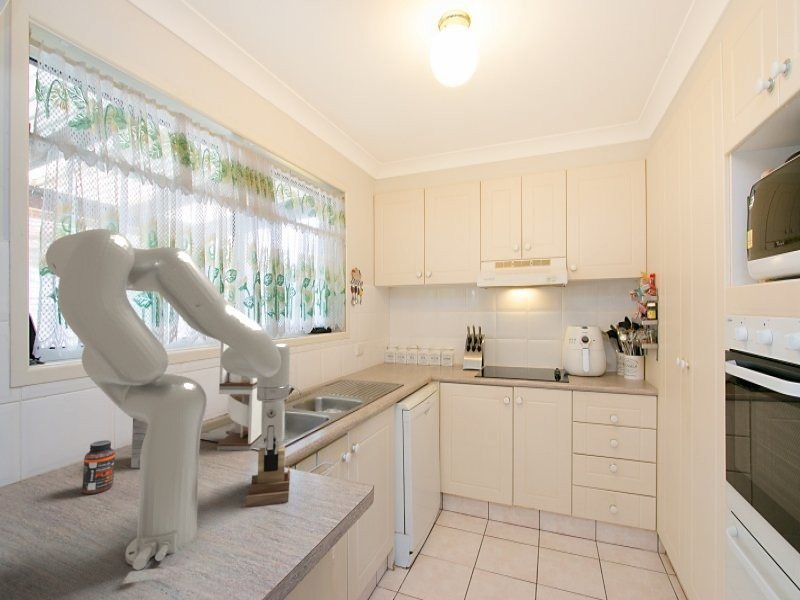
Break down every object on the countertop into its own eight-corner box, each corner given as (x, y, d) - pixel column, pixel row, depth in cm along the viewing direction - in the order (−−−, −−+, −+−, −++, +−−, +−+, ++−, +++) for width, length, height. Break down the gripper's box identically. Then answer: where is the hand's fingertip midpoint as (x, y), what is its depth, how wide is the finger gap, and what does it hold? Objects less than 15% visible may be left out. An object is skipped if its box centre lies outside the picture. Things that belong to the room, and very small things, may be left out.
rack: (288, 508, 82) (288, 483, 83) (245, 513, 80) (246, 488, 80) (289, 485, 93) (290, 463, 94) (251, 489, 91) (252, 467, 91)
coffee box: (148, 455, 111) (151, 402, 112) (171, 455, 112) (173, 402, 112) (129, 468, 102) (132, 410, 103) (153, 467, 103) (156, 410, 103)
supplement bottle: (95, 496, 86) (97, 447, 87) (75, 493, 88) (77, 445, 88) (119, 485, 92) (121, 439, 93) (100, 482, 93) (102, 437, 94)
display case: (232, 438, 128) (235, 338, 130) (262, 438, 129) (265, 338, 130) (217, 450, 117) (220, 340, 118) (250, 450, 117) (254, 340, 119)
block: (283, 483, 89) (284, 450, 89) (257, 486, 87) (258, 452, 88) (284, 478, 92) (285, 446, 92) (258, 480, 90) (259, 448, 90)
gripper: (287, 399, 83) (286, 480, 83) (289, 385, 99) (288, 453, 98) (252, 401, 81) (250, 484, 81) (260, 386, 97) (258, 456, 96)
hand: (271, 467), depth 90 cm, fingers closed on block, 3 cm apart
